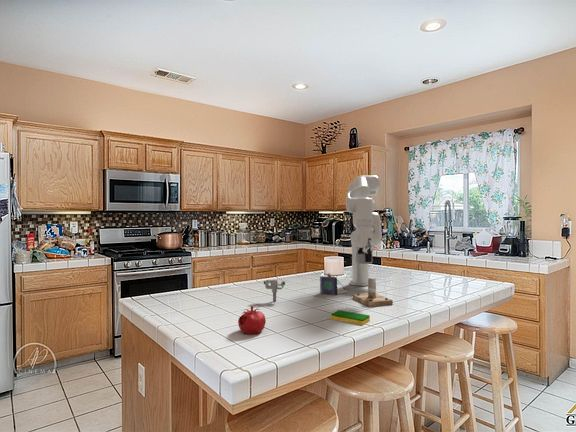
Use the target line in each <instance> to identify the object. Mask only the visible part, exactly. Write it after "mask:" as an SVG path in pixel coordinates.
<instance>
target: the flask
mask: <svg viewBox="0 0 576 432" xmlns="http://www.w3.org/2000/svg"><path fill="white" fill-rule="evenodd" d="M319 294H320V295H332V296H337V295H338V278H337V276H334V275H333V276H332V275H331V273H327V274H326V276H325V275H322V276H320V277H319Z"/></svg>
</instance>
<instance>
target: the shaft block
mask: <svg viewBox="0 0 576 432" xmlns="http://www.w3.org/2000/svg"><path fill="white" fill-rule="evenodd" d="M352 300H355V301H357V302H359V303H361V304H363V305H365V306H367V307H380V306H381V307H382V306H391V305H393V304H394V303H393V301H394V300H393V299H390V297H389V298H388V297H386V296H383V295H381V294H378V293H377V278H376V277H369V278H368V285H367V292H366V293H355V294H352Z"/></svg>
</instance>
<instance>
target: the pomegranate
mask: <svg viewBox="0 0 576 432" xmlns="http://www.w3.org/2000/svg"><path fill="white" fill-rule="evenodd" d="M257 310H258V311H257ZM237 323H238V324H237V325H238V327H239V330H240V331H241V332H242V333H244V334H248V335H256V334H260V333H261V332H262V331H263V330H264V329H265V326H266V323H267V321H266V316H265V314H264V313H263V312H262V311H261V309H259V308H255V309H254V306H253V305H250V310H249V309H247V308H246V309H244V308H243V312H242V314H241V315H240V317H238V320H237Z"/></svg>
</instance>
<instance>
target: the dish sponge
mask: <svg viewBox="0 0 576 432" xmlns="http://www.w3.org/2000/svg"><path fill="white" fill-rule="evenodd" d="M330 319H331V320H334V321H341V322H345V323H351V324H355V325H360V326H361V325H362V326H364V325H365V324H366V323H368V322H370V319H371V317H370V315H369V314H363V313H358V312H352V311H346V310H339V309H338V310H336V311H334V312H332V313H330Z"/></svg>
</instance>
